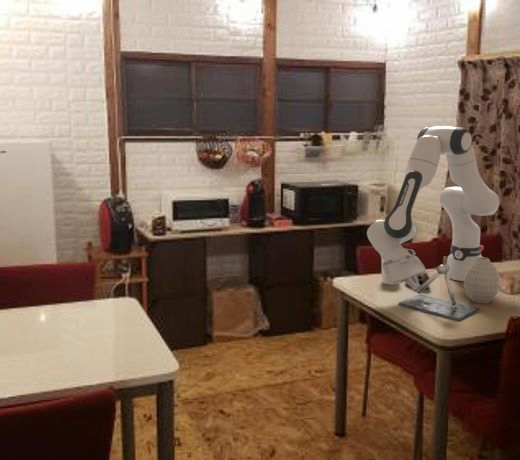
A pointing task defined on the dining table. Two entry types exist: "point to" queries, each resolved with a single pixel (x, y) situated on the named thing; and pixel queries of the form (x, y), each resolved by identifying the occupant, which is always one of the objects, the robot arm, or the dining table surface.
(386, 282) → the white cup
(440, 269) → the leg
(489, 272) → the vase
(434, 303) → the blue and grey frame
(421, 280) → the caster wheel
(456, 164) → the robot arm
